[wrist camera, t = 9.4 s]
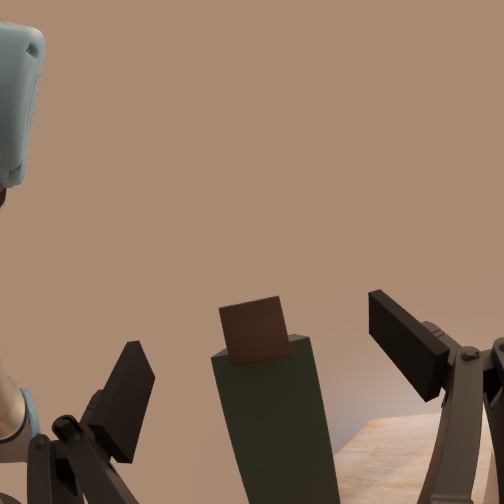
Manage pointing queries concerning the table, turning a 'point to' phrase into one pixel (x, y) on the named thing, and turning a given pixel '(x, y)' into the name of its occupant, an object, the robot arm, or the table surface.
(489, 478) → the cup
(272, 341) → the rod
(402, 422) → the table surface
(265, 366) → the stand
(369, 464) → the table surface
